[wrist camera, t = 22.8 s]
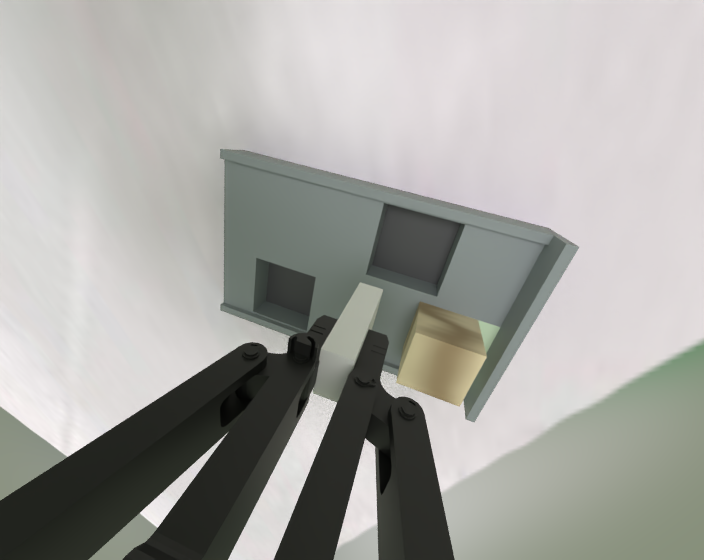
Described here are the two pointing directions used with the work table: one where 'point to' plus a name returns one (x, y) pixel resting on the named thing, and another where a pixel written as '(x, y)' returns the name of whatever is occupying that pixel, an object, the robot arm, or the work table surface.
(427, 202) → the board
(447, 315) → the block
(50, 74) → the work table surface
